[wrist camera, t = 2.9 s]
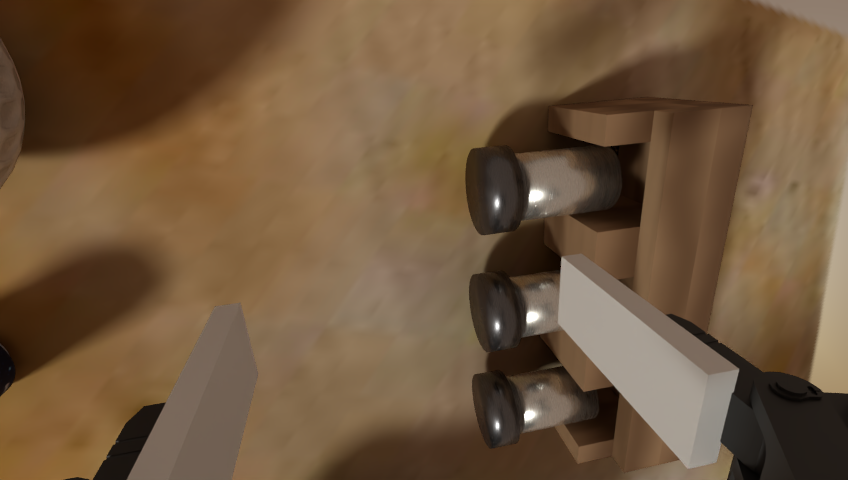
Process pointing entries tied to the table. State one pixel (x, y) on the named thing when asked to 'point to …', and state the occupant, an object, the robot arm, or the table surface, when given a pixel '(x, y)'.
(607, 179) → the knob
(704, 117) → the wooden rack
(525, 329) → the knob
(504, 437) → the knob
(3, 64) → the vase
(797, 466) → the robot arm
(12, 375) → the beverage can
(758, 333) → the table surface
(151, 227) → the table surface
